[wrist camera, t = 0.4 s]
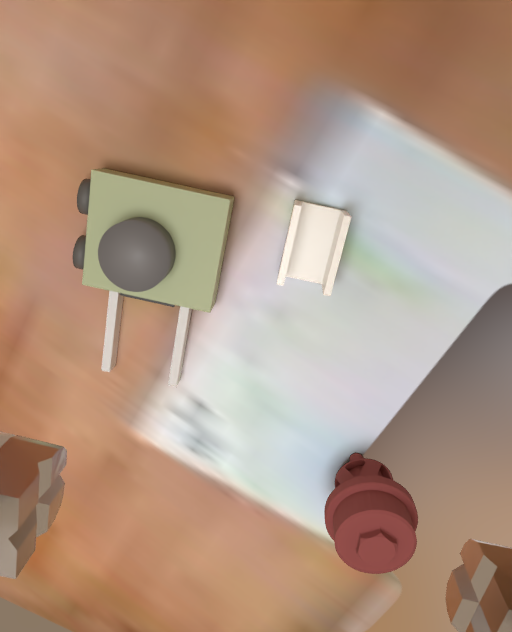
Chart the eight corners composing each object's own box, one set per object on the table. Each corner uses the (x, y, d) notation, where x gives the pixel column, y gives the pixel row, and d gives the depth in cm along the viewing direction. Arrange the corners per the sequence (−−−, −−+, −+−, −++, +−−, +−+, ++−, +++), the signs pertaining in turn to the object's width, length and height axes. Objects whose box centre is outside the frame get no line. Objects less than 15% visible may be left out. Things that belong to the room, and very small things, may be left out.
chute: (295, 199, 50) (294, 204, 46) (346, 210, 50) (351, 217, 46) (278, 272, 53) (276, 284, 48) (327, 283, 53) (330, 296, 48)
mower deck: (94, 166, 51) (65, 168, 45) (234, 196, 51) (225, 203, 44) (78, 356, 58) (52, 380, 52) (200, 383, 58) (188, 411, 52)
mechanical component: (420, 470, 60) (366, 519, 63) (357, 425, 58) (305, 477, 61) (449, 548, 48) (381, 603, 51) (372, 493, 47) (307, 554, 50)
